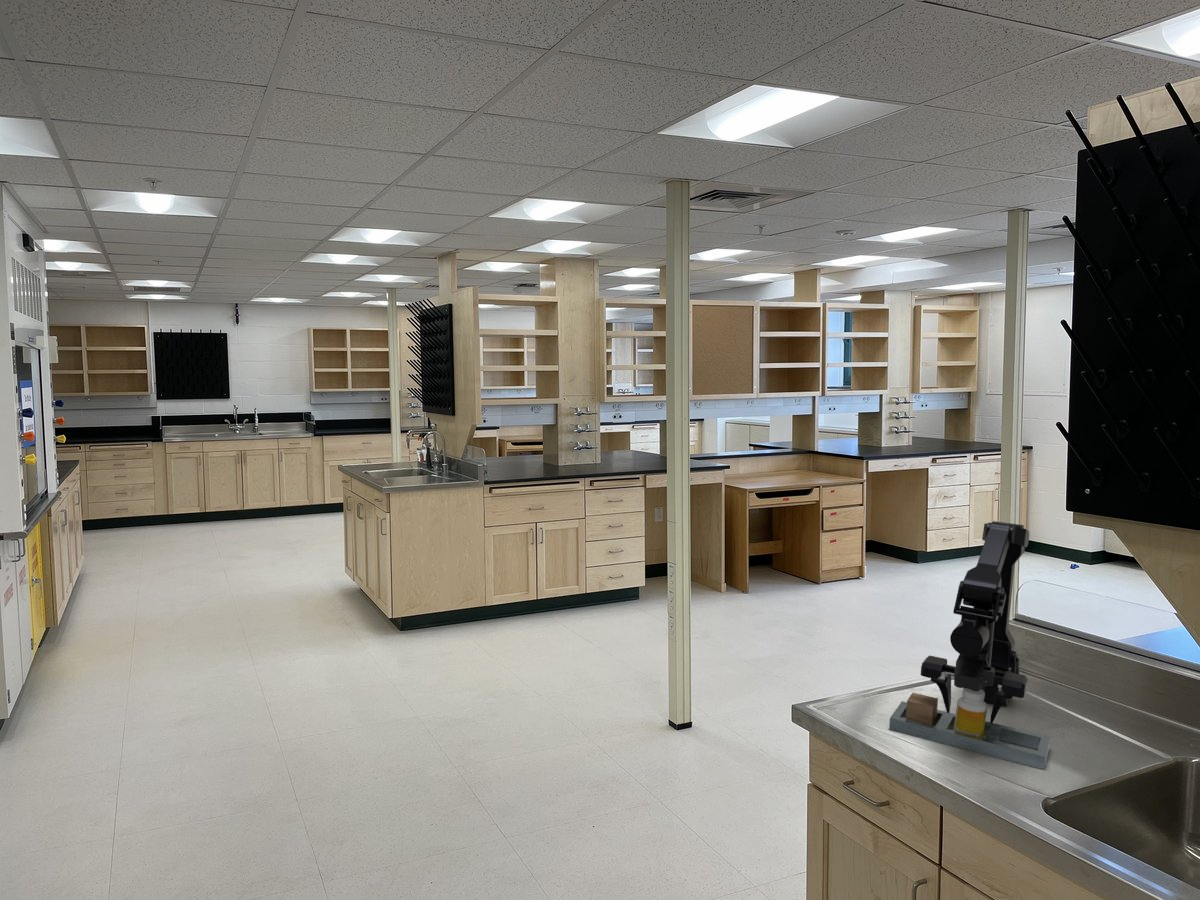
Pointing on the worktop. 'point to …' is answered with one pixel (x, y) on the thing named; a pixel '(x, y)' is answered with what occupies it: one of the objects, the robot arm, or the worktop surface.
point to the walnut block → (922, 709)
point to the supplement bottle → (971, 713)
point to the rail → (977, 738)
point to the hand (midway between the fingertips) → (969, 717)
